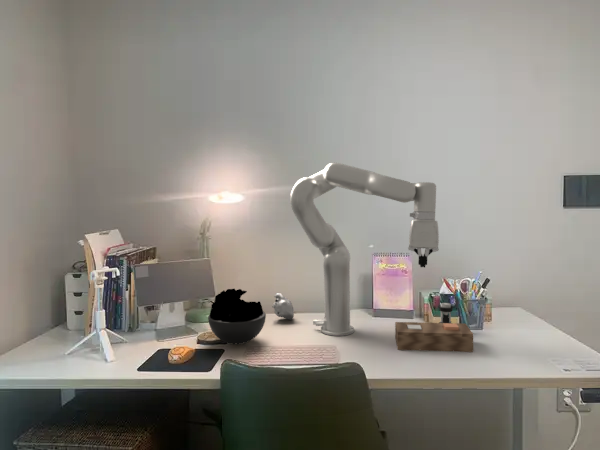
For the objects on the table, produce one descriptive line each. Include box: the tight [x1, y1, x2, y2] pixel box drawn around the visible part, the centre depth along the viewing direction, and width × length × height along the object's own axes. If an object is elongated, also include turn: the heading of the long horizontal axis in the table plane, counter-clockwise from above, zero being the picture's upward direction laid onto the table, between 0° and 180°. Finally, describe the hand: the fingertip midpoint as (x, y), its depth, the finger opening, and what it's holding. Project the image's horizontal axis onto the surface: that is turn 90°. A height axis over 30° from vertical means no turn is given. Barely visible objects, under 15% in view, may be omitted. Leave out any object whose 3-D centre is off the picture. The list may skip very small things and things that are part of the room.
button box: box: [394, 321, 474, 353], centre depth 159 cm, size 24×12×6 cm, turn 82°
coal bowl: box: [207, 288, 267, 345], centre depth 163 cm, size 20×20×19 cm
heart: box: [271, 292, 295, 321], centre depth 191 cm, size 10×10×12 cm
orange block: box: [443, 322, 459, 330], centre depth 158 cm, size 4×4×6 cm
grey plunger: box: [407, 325, 422, 330], centre depth 159 cm, size 4×4×6 cm
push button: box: [437, 302, 454, 323], centre depth 175 cm, size 7×5×10 cm
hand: (422, 266), depth 170 cm, fingers closed
